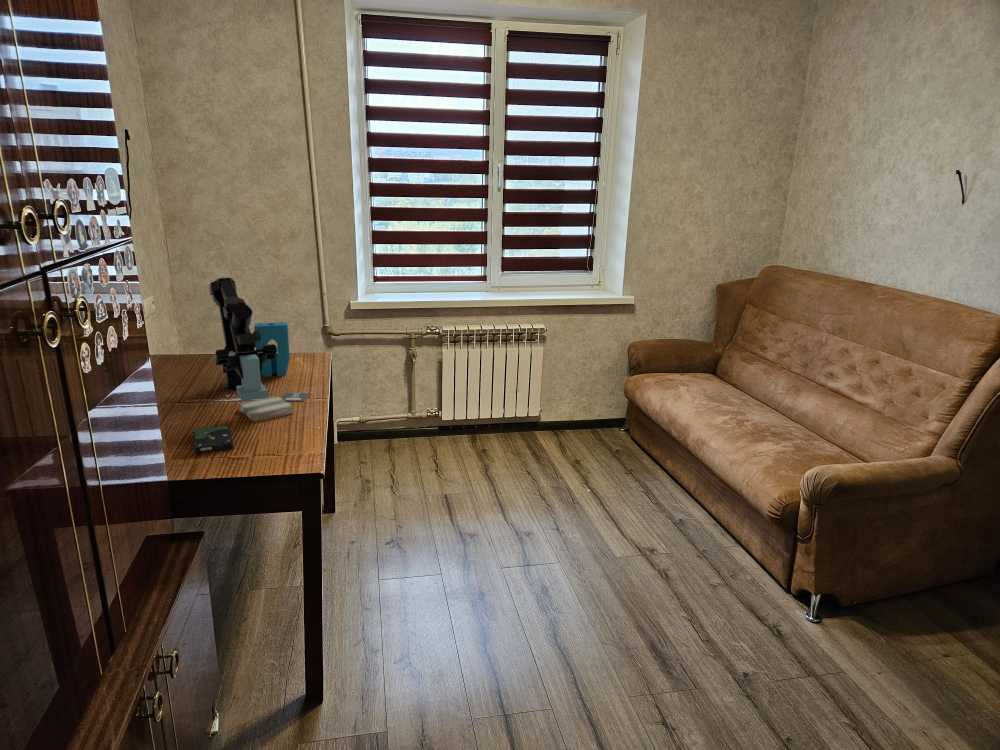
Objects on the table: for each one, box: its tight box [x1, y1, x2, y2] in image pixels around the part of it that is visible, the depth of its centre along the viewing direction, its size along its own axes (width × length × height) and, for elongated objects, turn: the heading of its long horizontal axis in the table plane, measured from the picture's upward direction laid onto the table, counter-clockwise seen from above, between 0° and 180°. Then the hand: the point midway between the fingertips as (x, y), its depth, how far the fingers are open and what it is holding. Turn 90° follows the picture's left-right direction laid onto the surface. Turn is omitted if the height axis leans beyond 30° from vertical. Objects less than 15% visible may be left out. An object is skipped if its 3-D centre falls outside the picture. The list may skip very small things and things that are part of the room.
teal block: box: [236, 354, 269, 402], centre depth 213 cm, size 8×8×13 cm
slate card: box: [281, 392, 310, 403], centre depth 234 cm, size 8×8×1 cm
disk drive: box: [192, 424, 235, 455], centre depth 196 cm, size 10×3×15 cm
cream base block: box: [238, 395, 294, 423], centre depth 220 cm, size 13×13×3 cm
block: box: [253, 321, 291, 378], centre depth 255 cm, size 12×5×20 cm, turn 109°
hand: (251, 377), depth 212 cm, fingers closed on teal block, 5 cm apart
